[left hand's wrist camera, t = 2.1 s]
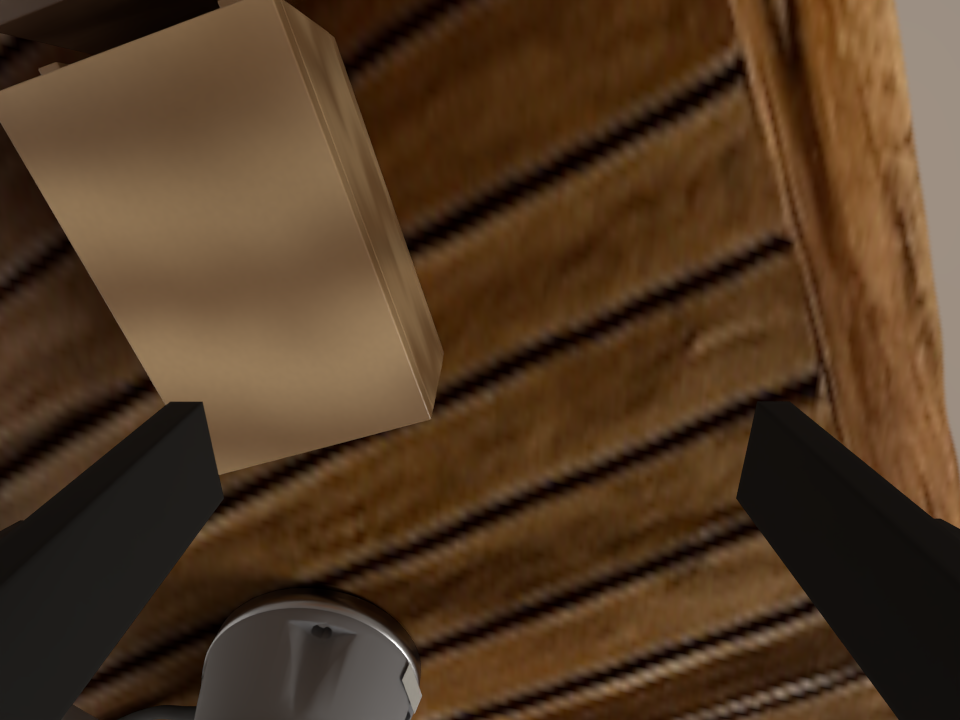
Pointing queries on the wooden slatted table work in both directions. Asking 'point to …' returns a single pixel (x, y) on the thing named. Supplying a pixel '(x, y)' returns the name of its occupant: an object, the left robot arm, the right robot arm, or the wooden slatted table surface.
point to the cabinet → (238, 228)
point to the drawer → (95, 21)
